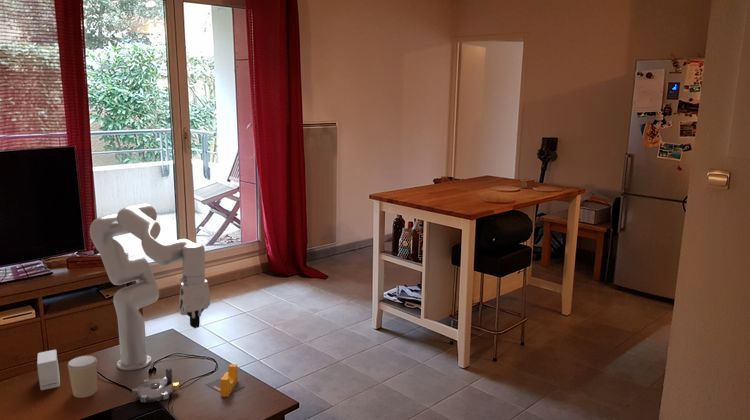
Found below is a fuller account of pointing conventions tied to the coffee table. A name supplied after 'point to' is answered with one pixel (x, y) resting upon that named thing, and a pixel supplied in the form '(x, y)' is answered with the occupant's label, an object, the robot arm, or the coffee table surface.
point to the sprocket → (156, 388)
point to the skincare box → (48, 370)
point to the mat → (217, 385)
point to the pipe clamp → (229, 380)
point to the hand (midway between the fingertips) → (194, 326)
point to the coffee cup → (83, 376)
